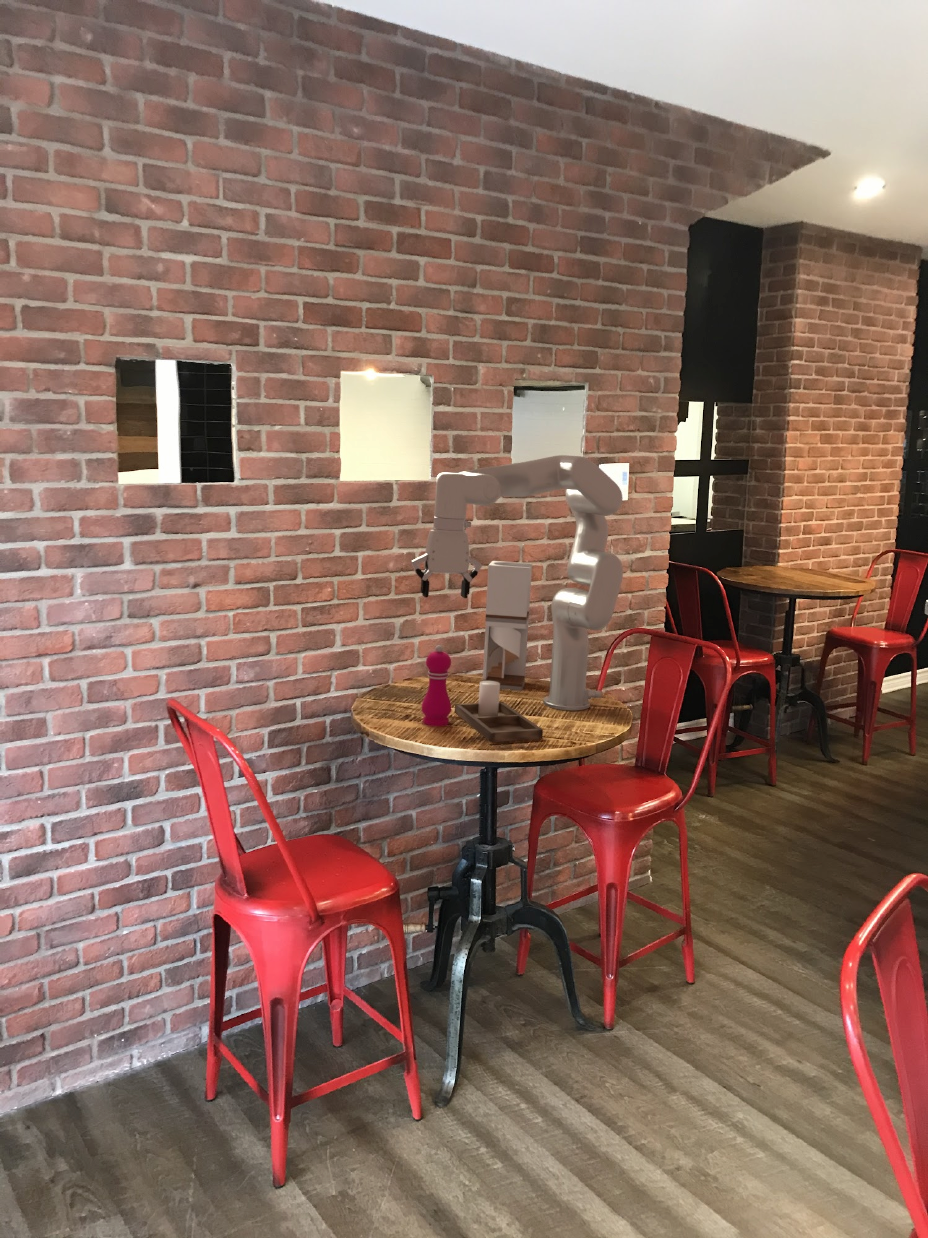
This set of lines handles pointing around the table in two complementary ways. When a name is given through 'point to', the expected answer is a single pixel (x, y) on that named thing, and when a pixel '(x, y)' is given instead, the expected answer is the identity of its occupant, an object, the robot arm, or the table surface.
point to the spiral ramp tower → (507, 623)
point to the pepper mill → (437, 689)
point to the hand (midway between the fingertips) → (444, 597)
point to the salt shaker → (488, 698)
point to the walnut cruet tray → (499, 724)
